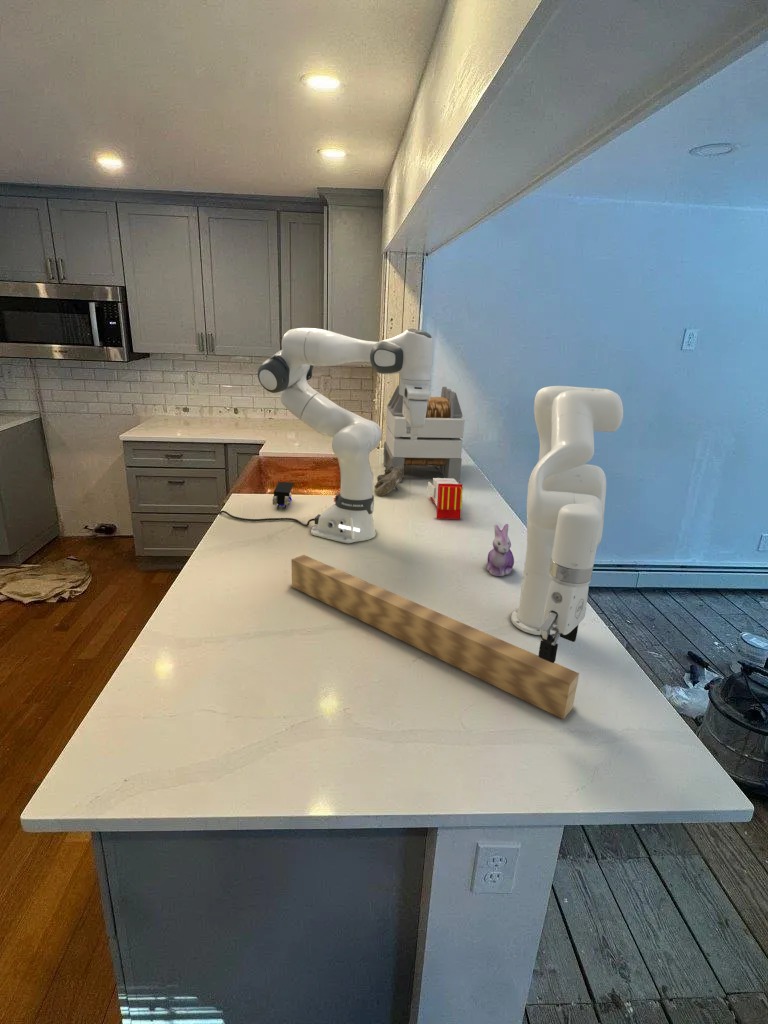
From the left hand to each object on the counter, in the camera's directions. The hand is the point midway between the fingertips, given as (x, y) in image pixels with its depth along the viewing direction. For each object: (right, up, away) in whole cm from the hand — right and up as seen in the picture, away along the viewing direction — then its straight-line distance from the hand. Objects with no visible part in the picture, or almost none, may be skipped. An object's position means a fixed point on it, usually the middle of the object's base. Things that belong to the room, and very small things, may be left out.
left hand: (411, 436), depth 167 cm
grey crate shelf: (+9, -3, +108) cm, 109 cm away
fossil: (-6, -12, +81) cm, 83 cm away
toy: (+16, -20, +62) cm, 67 cm away
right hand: (+26, -49, -55) cm, 78 cm away
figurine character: (-48, -19, +57) cm, 77 cm away
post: (-2, -53, -30) cm, 60 cm away
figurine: (+28, -40, +8) cm, 50 cm away
